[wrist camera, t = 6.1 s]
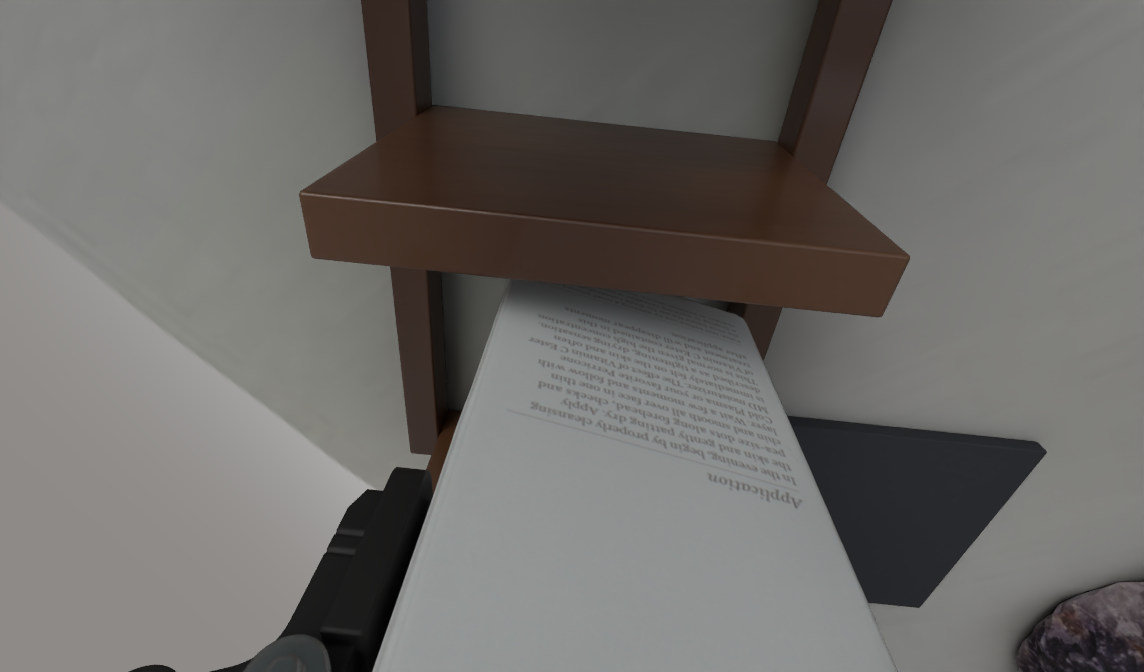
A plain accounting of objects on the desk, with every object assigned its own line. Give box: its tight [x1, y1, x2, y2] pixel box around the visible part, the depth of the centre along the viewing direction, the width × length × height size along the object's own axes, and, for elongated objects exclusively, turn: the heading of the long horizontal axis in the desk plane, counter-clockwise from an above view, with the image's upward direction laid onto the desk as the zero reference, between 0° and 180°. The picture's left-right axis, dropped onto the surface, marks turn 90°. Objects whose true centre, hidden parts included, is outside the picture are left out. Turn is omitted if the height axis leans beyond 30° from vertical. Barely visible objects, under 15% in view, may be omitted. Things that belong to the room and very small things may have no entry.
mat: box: [787, 416, 1047, 608], centre depth 24 cm, size 11×11×1 cm
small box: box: [372, 279, 898, 672], centre depth 10 cm, size 8×6×13 cm
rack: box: [299, 0, 910, 495], centre depth 12 cm, size 12×24×8 cm, turn 175°
